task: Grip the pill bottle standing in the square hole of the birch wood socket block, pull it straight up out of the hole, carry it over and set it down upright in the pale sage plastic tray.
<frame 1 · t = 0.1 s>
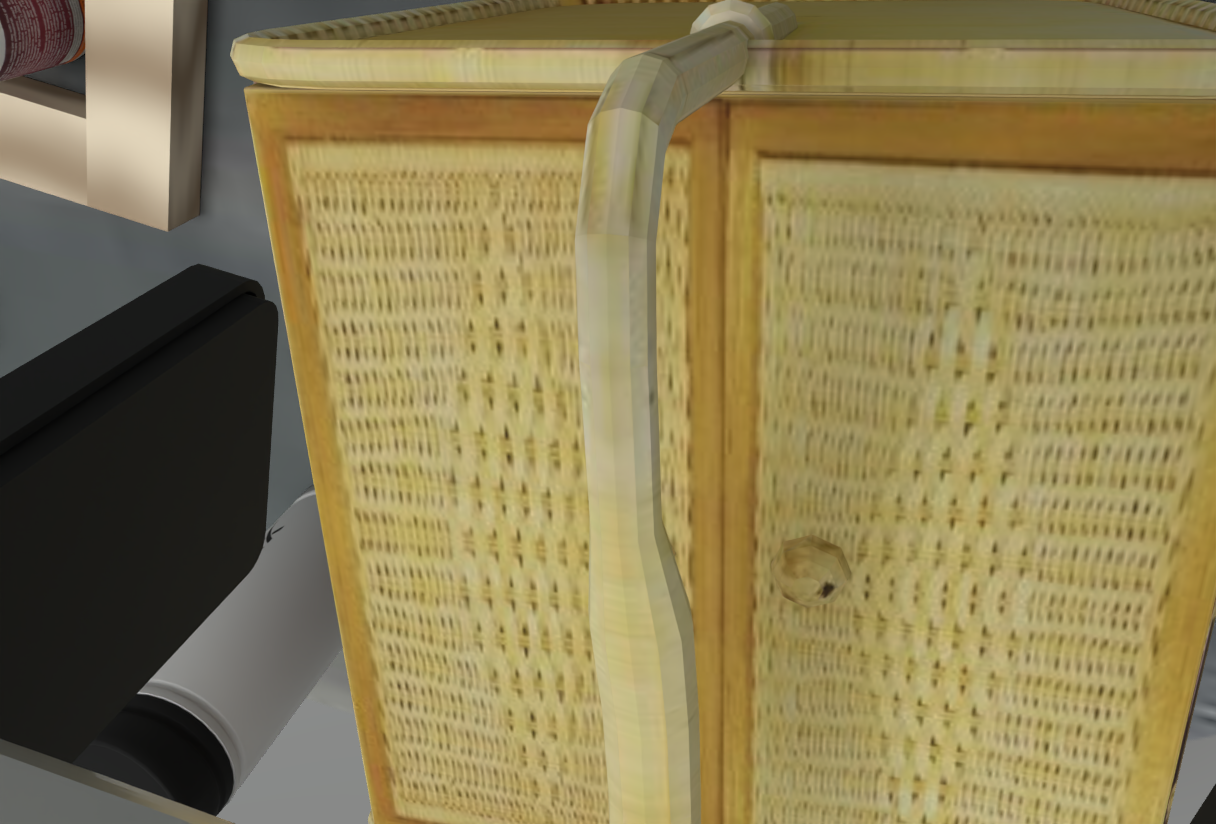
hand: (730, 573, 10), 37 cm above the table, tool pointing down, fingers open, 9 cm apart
picnic basket: (805, 301, 48), on the table
travel mug: (358, 528, 60), on the table
pill bottle: (54, 5, 51), resting in socket block
socket block: (50, 6, 51), on the table
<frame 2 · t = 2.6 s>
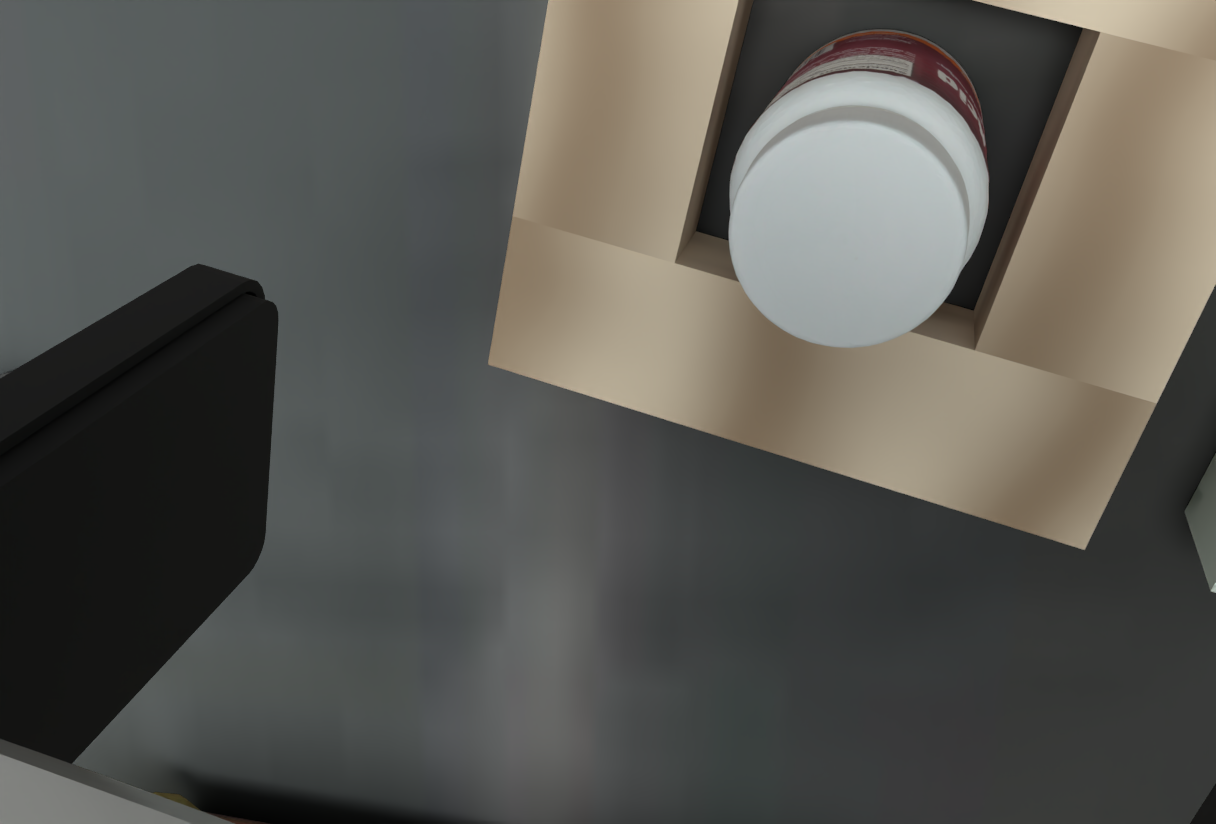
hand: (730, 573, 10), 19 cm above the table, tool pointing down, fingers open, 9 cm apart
pill bottle: (876, 129, 27), resting in socket block
socket block: (876, 131, 27), on the table
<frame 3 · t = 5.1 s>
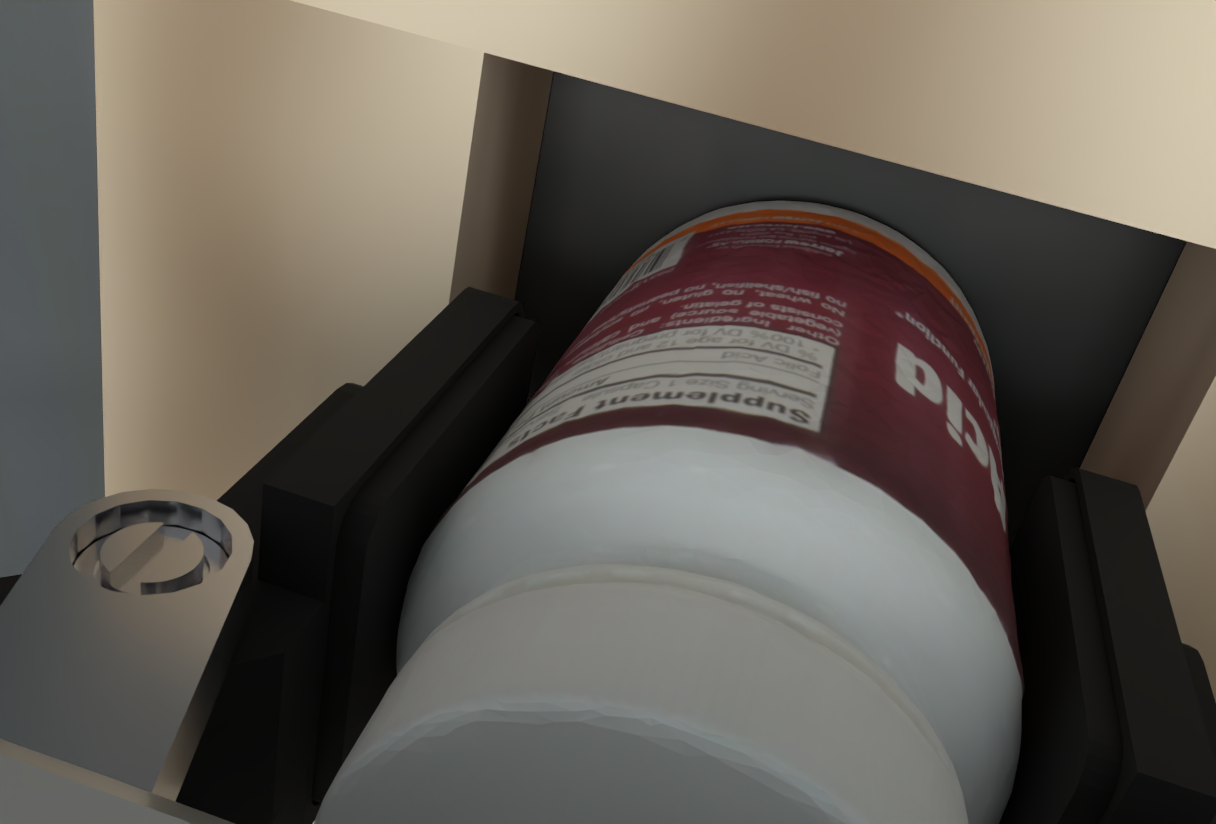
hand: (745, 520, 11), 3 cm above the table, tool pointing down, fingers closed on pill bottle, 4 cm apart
pill bottle: (789, 374, 14), resting in socket block, touching gripper
socket block: (787, 381, 14), on the table
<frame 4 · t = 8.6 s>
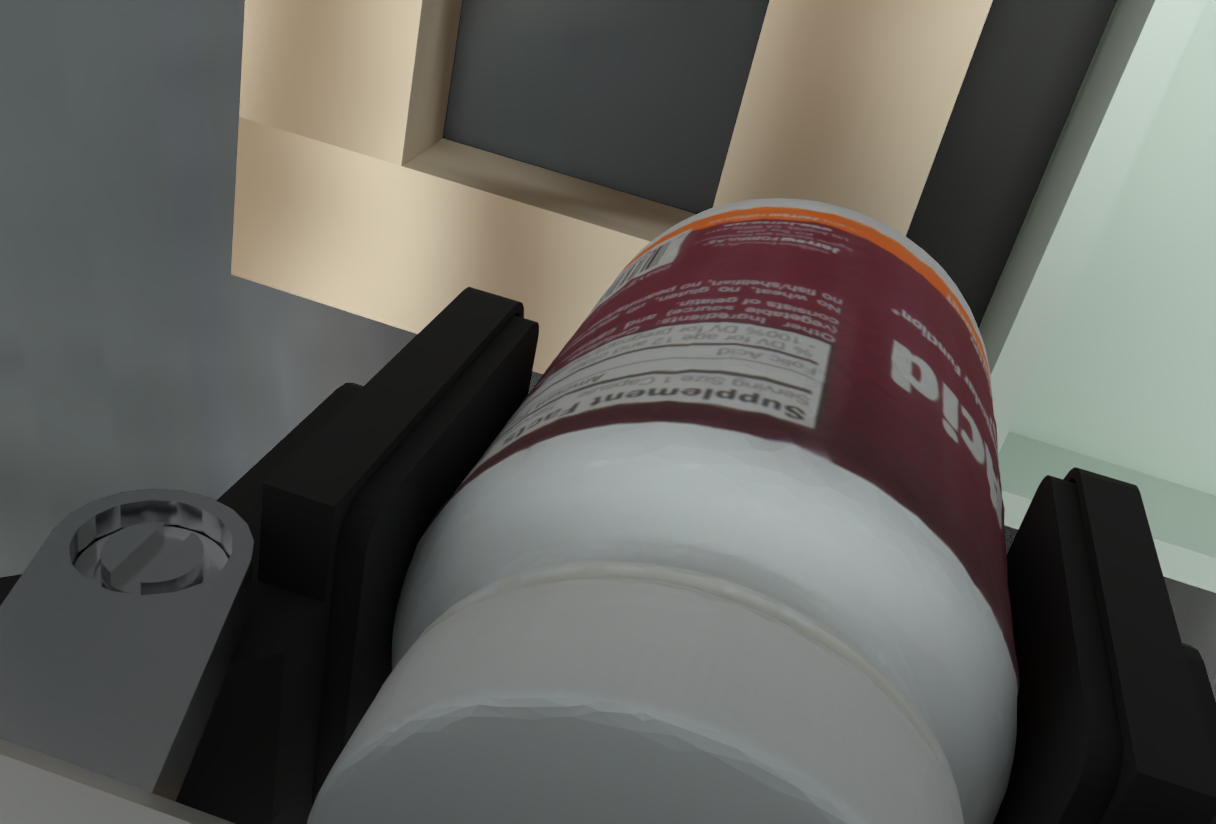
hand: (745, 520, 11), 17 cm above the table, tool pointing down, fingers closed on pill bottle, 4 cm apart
pill bottle: (786, 372, 14), point 13 cm above the table, touching gripper
socket block: (609, 32, 26), on the table
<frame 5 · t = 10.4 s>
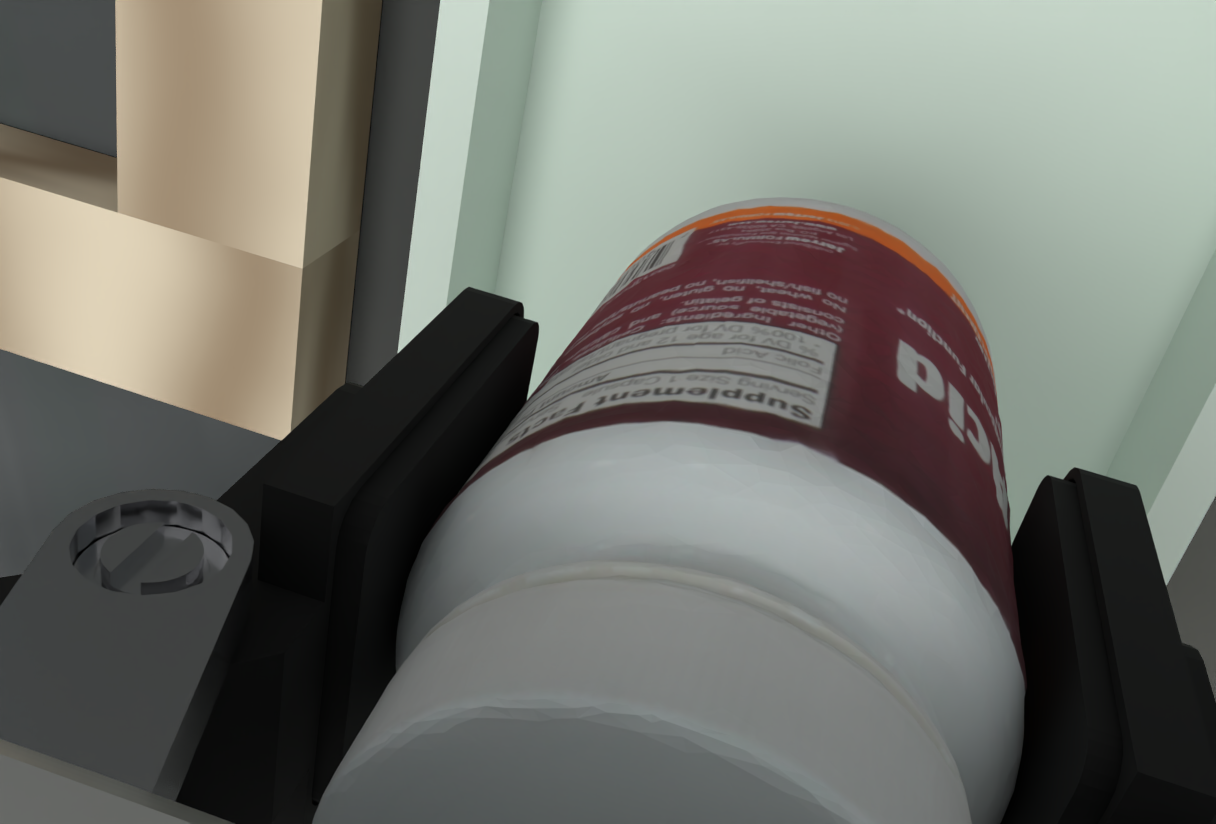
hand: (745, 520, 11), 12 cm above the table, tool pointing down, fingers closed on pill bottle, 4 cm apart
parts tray: (847, 194, 22), on the table
pill bottle: (790, 371, 14), point 9 cm above the table, touching gripper
when the fingers open (6 cm above the table, at t = 12.2 s): pill bottle drops 2 cm, resting on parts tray.
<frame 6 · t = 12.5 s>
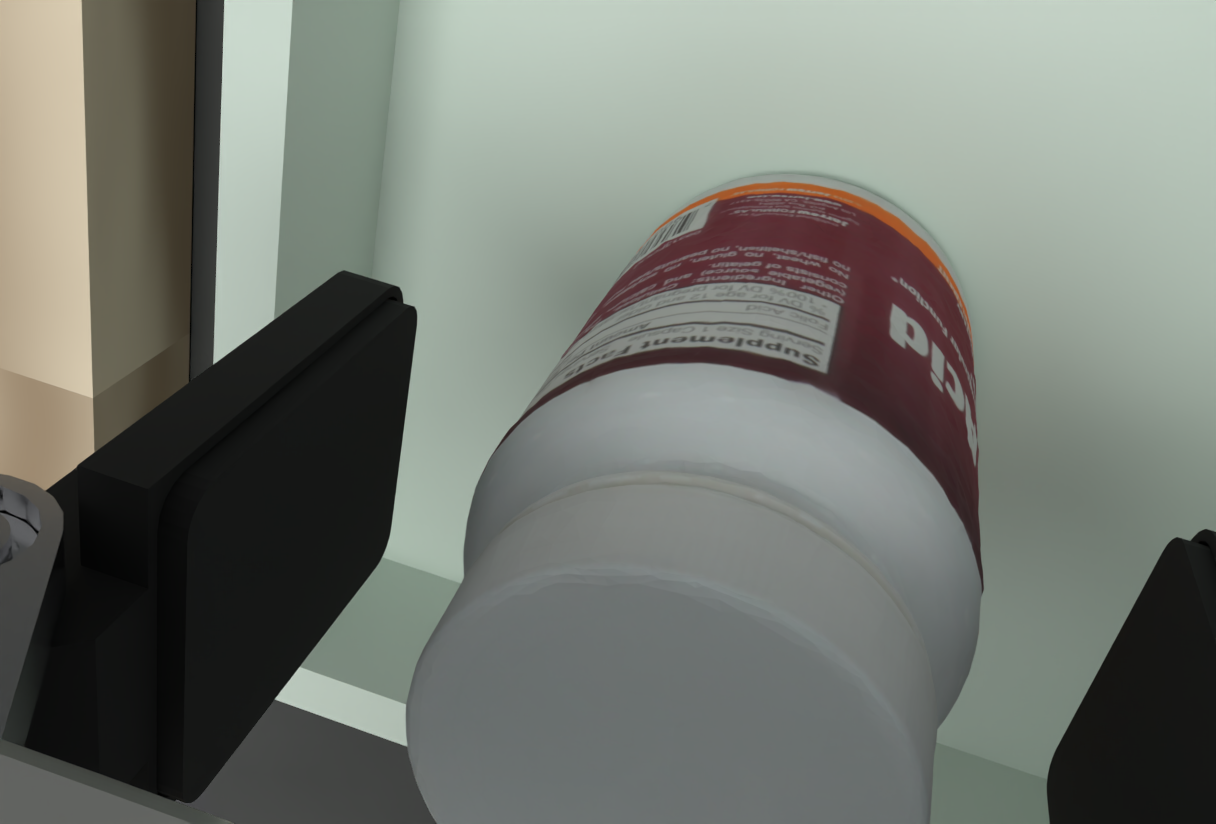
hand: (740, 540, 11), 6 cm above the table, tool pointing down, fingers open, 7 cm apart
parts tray: (809, 303, 16), on the table
pill bottle: (792, 328, 16), resting on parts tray
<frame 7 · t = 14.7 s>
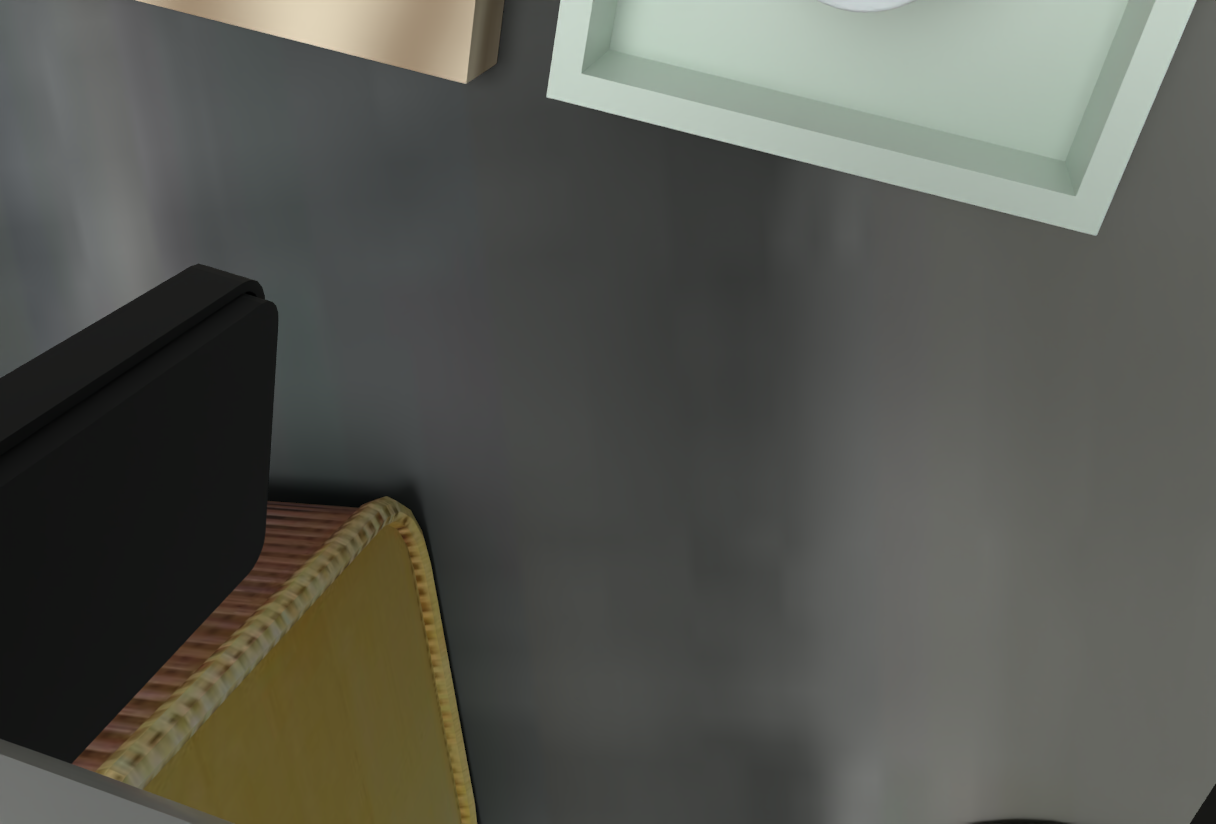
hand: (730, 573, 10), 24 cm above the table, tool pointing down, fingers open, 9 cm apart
picnic basket: (183, 651, 49), on the table
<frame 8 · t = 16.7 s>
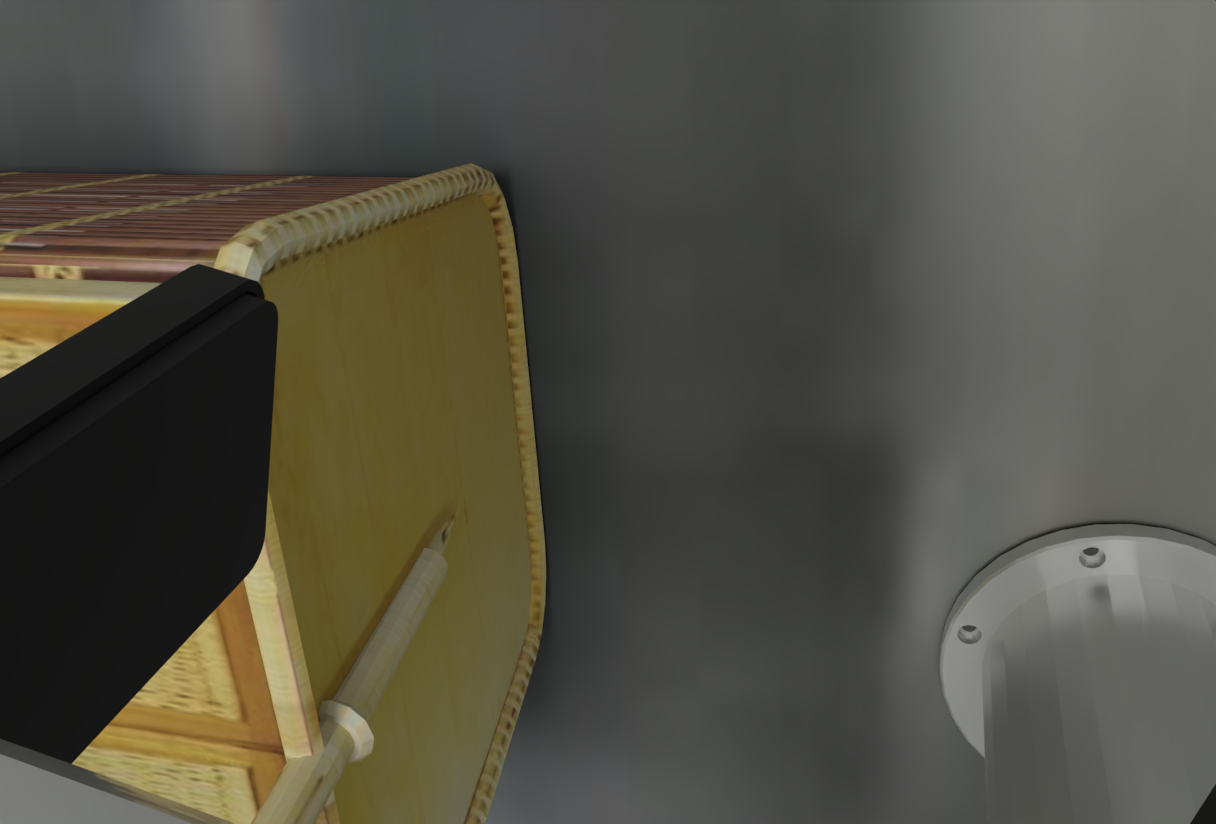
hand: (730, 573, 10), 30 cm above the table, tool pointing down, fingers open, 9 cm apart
picnic basket: (257, 385, 49), on the table
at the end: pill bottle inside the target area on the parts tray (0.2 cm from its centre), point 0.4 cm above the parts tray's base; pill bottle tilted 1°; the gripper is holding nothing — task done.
